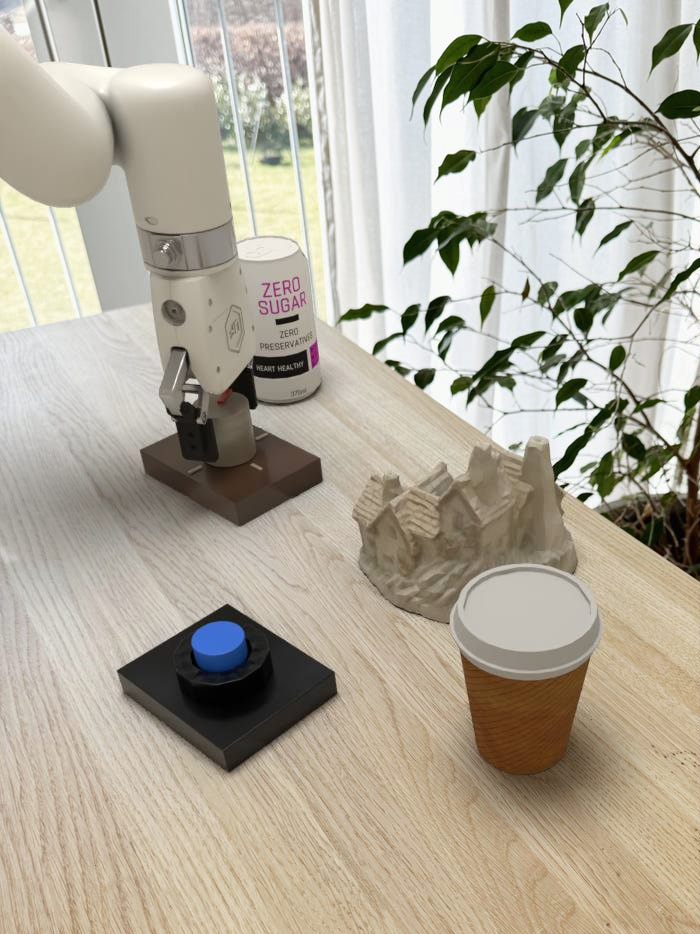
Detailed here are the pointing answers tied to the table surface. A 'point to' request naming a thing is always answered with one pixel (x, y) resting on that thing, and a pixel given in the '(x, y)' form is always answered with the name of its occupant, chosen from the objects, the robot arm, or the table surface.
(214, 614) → the switch block
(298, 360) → the white soda can
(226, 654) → the light button
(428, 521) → the ceramic cottage
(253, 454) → the dimmer knob
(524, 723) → the disposable coffee cup
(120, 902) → the table surface
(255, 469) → the panel
